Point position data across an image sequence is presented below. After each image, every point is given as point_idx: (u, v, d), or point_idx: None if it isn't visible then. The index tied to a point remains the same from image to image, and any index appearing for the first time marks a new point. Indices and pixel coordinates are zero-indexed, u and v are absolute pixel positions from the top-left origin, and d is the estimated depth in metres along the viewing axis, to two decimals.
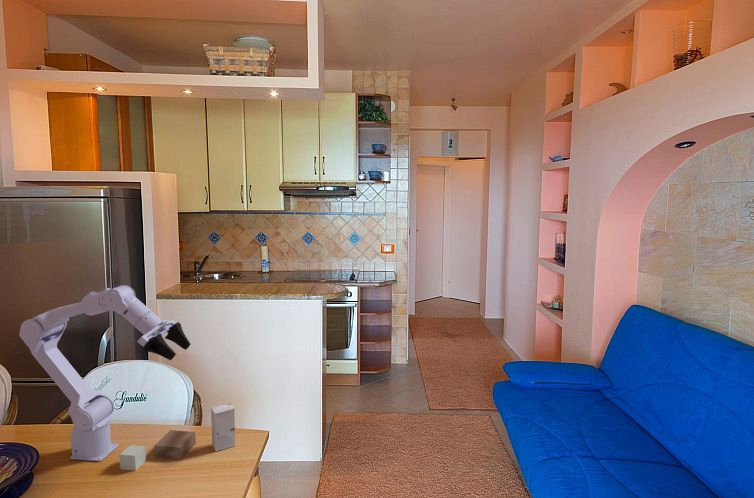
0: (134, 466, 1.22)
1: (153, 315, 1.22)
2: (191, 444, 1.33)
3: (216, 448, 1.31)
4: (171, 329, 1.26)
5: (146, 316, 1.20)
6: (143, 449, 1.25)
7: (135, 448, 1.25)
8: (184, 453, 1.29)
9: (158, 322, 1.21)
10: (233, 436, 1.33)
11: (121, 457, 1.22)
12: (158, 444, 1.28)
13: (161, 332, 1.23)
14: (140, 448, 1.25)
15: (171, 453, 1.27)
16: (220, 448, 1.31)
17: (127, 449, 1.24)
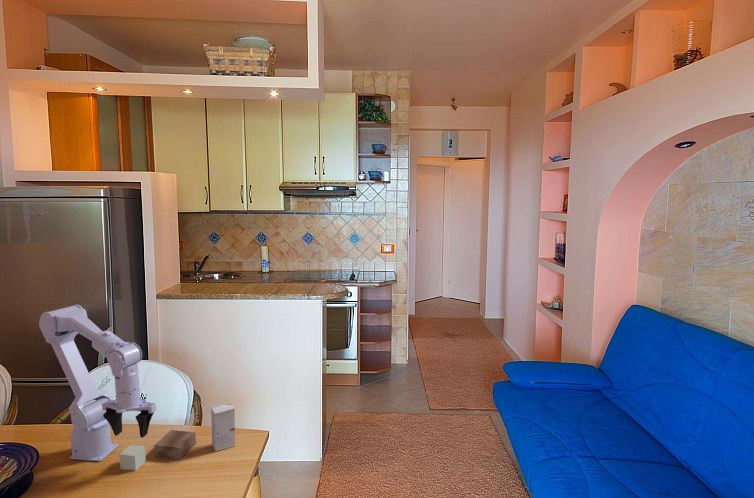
0: (134, 466, 1.22)
1: (120, 397, 1.19)
2: (191, 444, 1.32)
3: (216, 448, 1.31)
4: None
5: (116, 393, 1.19)
6: (143, 449, 1.25)
7: (135, 448, 1.25)
8: (183, 453, 1.29)
9: (119, 406, 1.19)
10: (233, 436, 1.33)
11: (121, 457, 1.22)
12: (158, 444, 1.28)
13: None
14: (140, 448, 1.25)
15: (171, 453, 1.27)
16: (220, 448, 1.31)
17: (127, 449, 1.24)
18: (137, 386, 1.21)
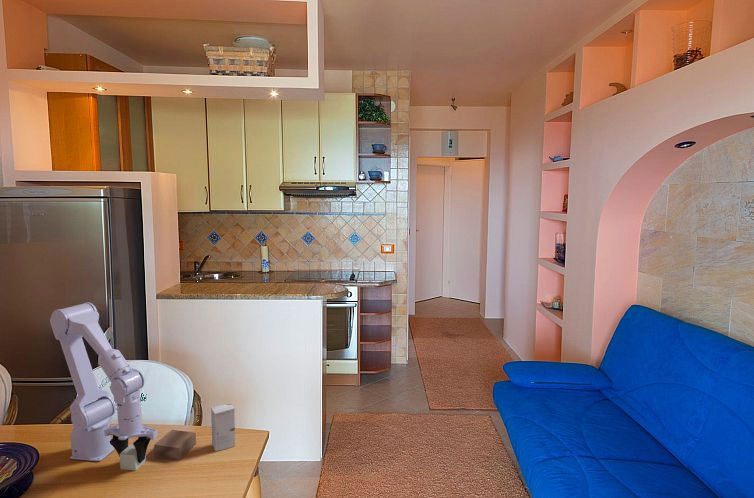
0: (134, 466, 1.22)
1: (122, 424, 1.20)
2: (191, 445, 1.32)
3: (216, 448, 1.31)
4: None
5: (118, 420, 1.20)
6: None
7: None
8: (183, 453, 1.28)
9: (121, 432, 1.20)
10: (233, 436, 1.33)
11: (121, 457, 1.22)
12: (158, 443, 1.28)
13: None
14: None
15: (170, 453, 1.27)
16: (220, 448, 1.31)
17: (127, 449, 1.24)
18: (139, 412, 1.22)
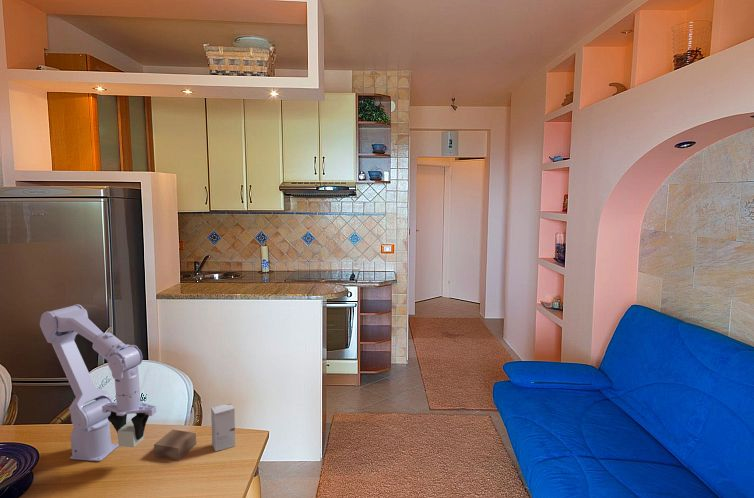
0: (132, 442, 1.21)
1: (120, 400, 1.19)
2: (191, 445, 1.32)
3: (216, 448, 1.31)
4: None
5: (116, 396, 1.19)
6: None
7: (133, 425, 1.24)
8: (182, 454, 1.28)
9: (119, 408, 1.19)
10: (233, 436, 1.33)
11: (119, 433, 1.21)
12: (158, 443, 1.28)
13: None
14: None
15: (170, 453, 1.27)
16: (220, 448, 1.31)
17: (125, 426, 1.23)
18: (137, 389, 1.21)
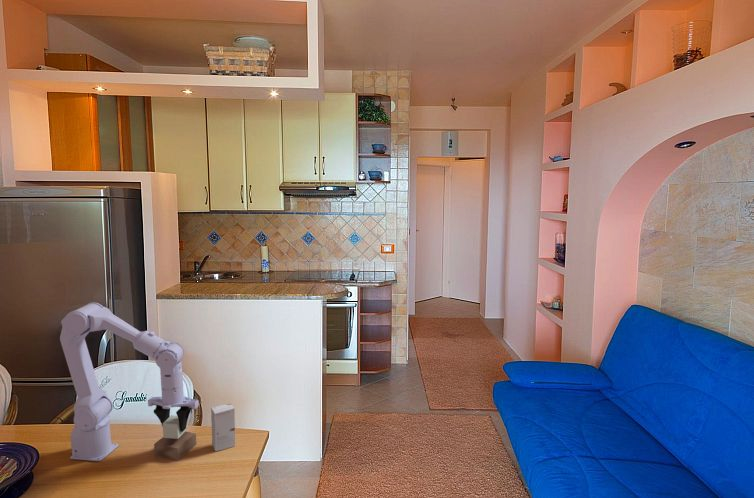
0: (176, 434, 1.28)
1: (166, 394, 1.26)
2: (191, 445, 1.32)
3: (216, 448, 1.31)
4: None
5: (162, 390, 1.27)
6: None
7: (177, 417, 1.31)
8: (182, 454, 1.28)
9: (165, 402, 1.27)
10: (233, 436, 1.33)
11: (164, 426, 1.28)
12: (157, 443, 1.29)
13: None
14: None
15: (169, 453, 1.27)
16: (220, 448, 1.31)
17: (169, 419, 1.31)
18: (182, 381, 1.30)
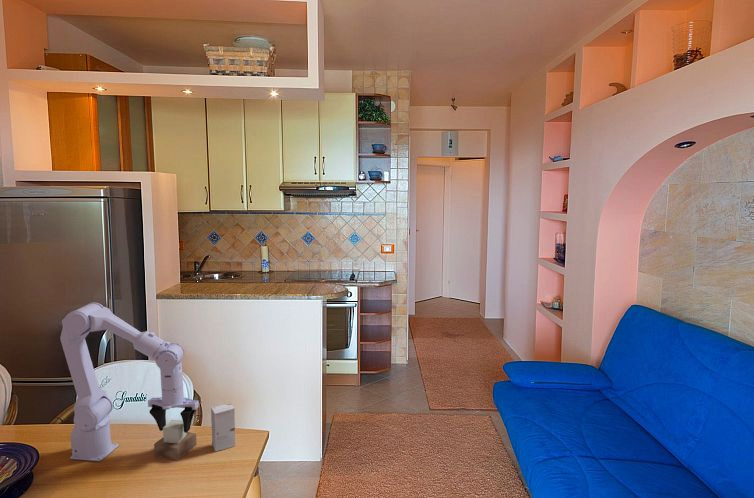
0: (177, 439, 1.28)
1: (166, 395, 1.26)
2: (190, 445, 1.32)
3: (216, 448, 1.31)
4: None
5: (162, 391, 1.27)
6: None
7: (177, 422, 1.31)
8: (181, 454, 1.28)
9: (165, 403, 1.27)
10: (233, 436, 1.33)
11: (164, 430, 1.29)
12: (157, 443, 1.29)
13: None
14: (182, 422, 1.31)
15: (169, 453, 1.27)
16: (220, 448, 1.31)
17: (169, 423, 1.31)
18: (182, 382, 1.30)
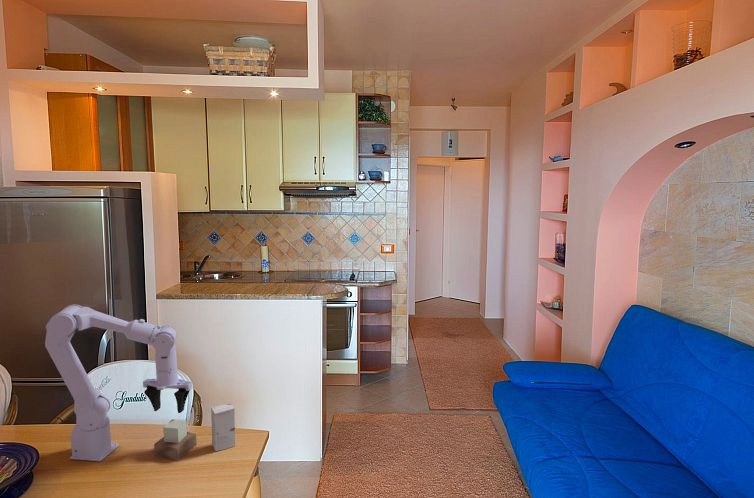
0: (177, 438, 1.29)
1: (160, 376, 1.29)
2: (191, 446, 1.32)
3: (216, 448, 1.31)
4: None
5: (156, 372, 1.30)
6: (185, 423, 1.32)
7: (177, 422, 1.32)
8: (181, 454, 1.28)
9: (159, 383, 1.30)
10: (233, 436, 1.33)
11: (165, 430, 1.29)
12: (157, 443, 1.29)
13: None
14: (182, 422, 1.32)
15: (169, 453, 1.27)
16: (220, 448, 1.31)
17: (170, 423, 1.31)
18: None
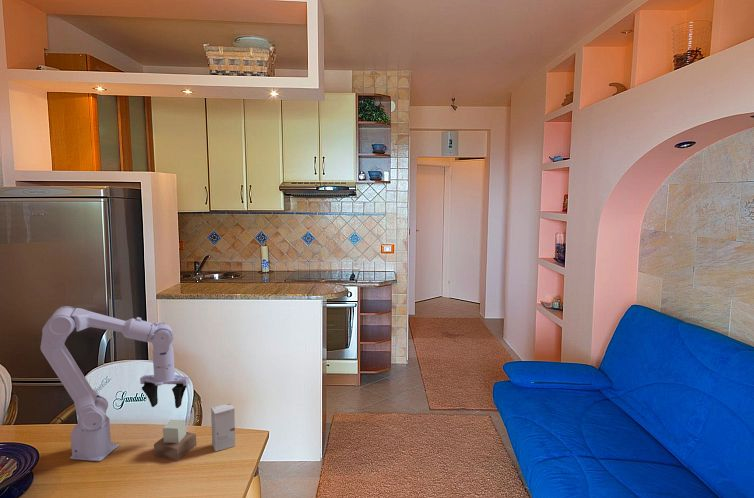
0: (177, 438, 1.29)
1: (158, 372, 1.32)
2: (190, 446, 1.32)
3: (216, 448, 1.31)
4: None
5: (154, 368, 1.33)
6: (184, 423, 1.32)
7: (176, 422, 1.32)
8: (181, 454, 1.28)
9: (157, 379, 1.33)
10: (233, 436, 1.33)
11: (164, 430, 1.29)
12: (157, 443, 1.29)
13: None
14: (181, 422, 1.32)
15: (169, 453, 1.27)
16: (220, 448, 1.31)
17: (169, 423, 1.31)
18: None
